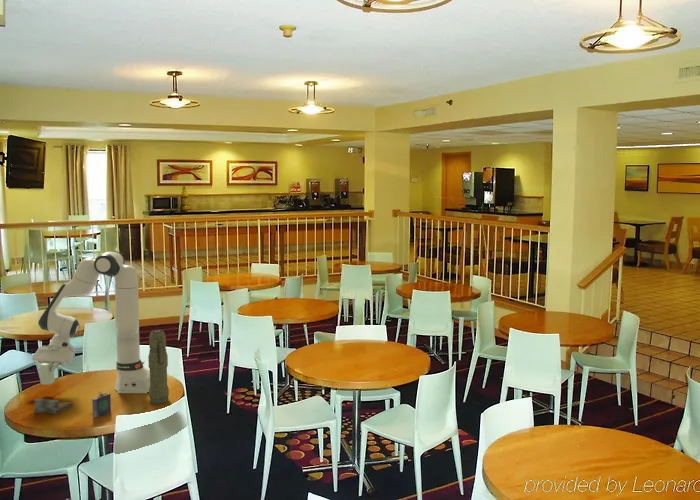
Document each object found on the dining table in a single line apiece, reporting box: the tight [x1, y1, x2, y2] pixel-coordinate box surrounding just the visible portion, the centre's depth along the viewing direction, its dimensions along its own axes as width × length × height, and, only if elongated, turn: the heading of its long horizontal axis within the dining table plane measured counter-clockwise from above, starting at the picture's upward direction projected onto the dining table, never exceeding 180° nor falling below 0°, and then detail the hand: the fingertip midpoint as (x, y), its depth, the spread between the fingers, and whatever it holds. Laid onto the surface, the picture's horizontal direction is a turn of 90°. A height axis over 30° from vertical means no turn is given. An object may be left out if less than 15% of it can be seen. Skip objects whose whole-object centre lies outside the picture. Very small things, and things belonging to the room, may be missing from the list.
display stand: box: [33, 398, 74, 415], centre depth 274 cm, size 12×11×6 cm
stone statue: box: [147, 329, 170, 405], centre depth 284 cm, size 9×12×35 cm
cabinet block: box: [39, 362, 56, 386], centre depth 293 cm, size 4×4×10 cm
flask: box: [91, 391, 112, 419], centre depth 268 cm, size 9×3×11 cm, turn 151°
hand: (46, 370), depth 292 cm, fingers closed on cabinet block, 4 cm apart
